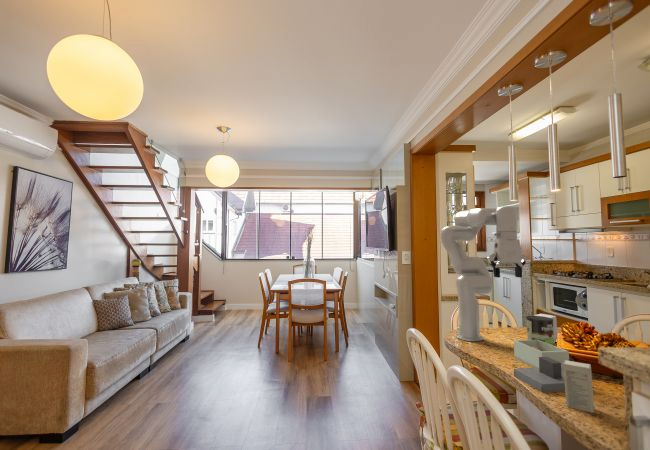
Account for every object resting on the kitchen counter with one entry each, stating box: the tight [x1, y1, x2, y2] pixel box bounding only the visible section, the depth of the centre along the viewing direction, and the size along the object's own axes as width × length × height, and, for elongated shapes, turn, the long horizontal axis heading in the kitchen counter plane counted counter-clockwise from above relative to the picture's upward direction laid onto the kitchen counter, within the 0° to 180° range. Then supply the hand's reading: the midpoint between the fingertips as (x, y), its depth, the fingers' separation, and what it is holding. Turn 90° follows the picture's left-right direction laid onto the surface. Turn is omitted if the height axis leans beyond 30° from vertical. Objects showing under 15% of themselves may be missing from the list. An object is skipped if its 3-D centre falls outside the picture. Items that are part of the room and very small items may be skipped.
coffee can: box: [525, 315, 555, 346], centre depth 146 cm, size 10×10×14 cm
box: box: [513, 339, 570, 370], centre depth 128 cm, size 15×11×7 cm
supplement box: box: [532, 313, 558, 344], centre depth 158 cm, size 7×7×13 cm
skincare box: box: [563, 360, 595, 413], centre depth 94 cm, size 6×4×12 cm
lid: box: [513, 357, 565, 393], centre depth 110 cm, size 17×13×8 cm
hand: (507, 277), depth 135 cm, fingers open, 9 cm apart
